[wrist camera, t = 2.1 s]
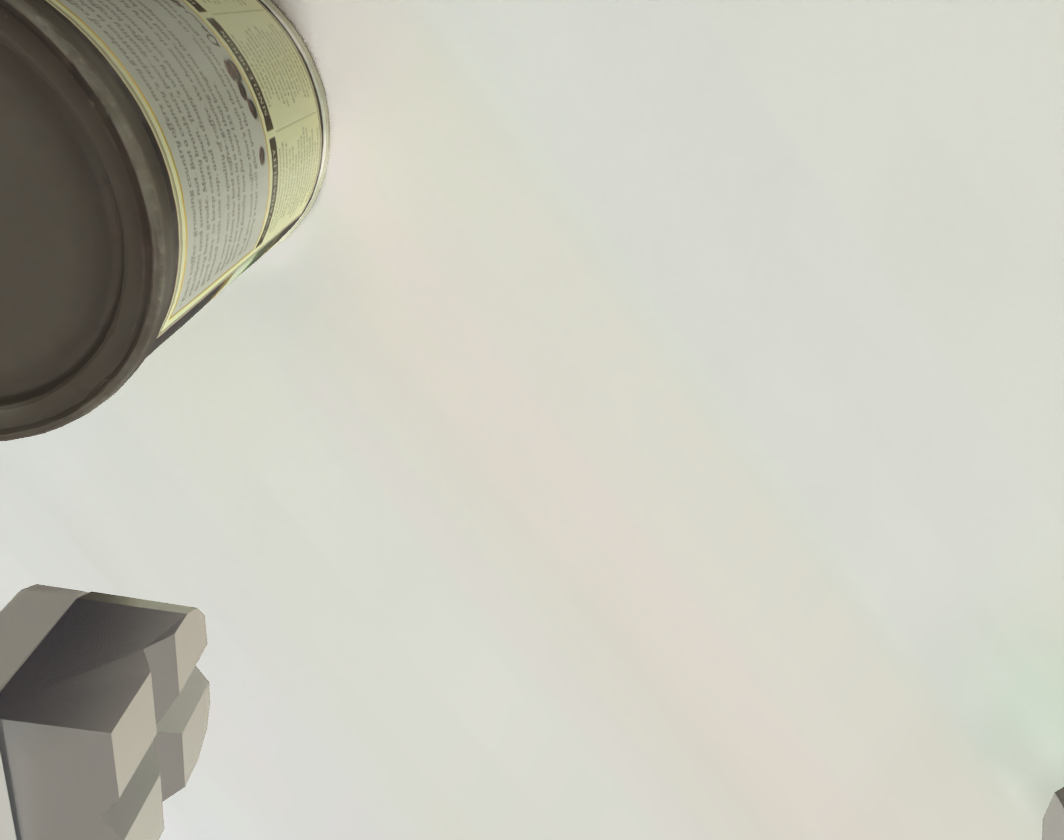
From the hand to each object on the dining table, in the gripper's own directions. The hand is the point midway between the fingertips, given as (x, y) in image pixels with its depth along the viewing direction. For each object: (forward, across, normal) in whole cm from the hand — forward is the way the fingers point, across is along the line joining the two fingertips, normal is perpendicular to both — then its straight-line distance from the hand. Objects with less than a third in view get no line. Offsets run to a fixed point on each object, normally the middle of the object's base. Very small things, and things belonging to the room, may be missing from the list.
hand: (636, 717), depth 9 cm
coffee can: (+25, +14, 0) cm, 29 cm away
